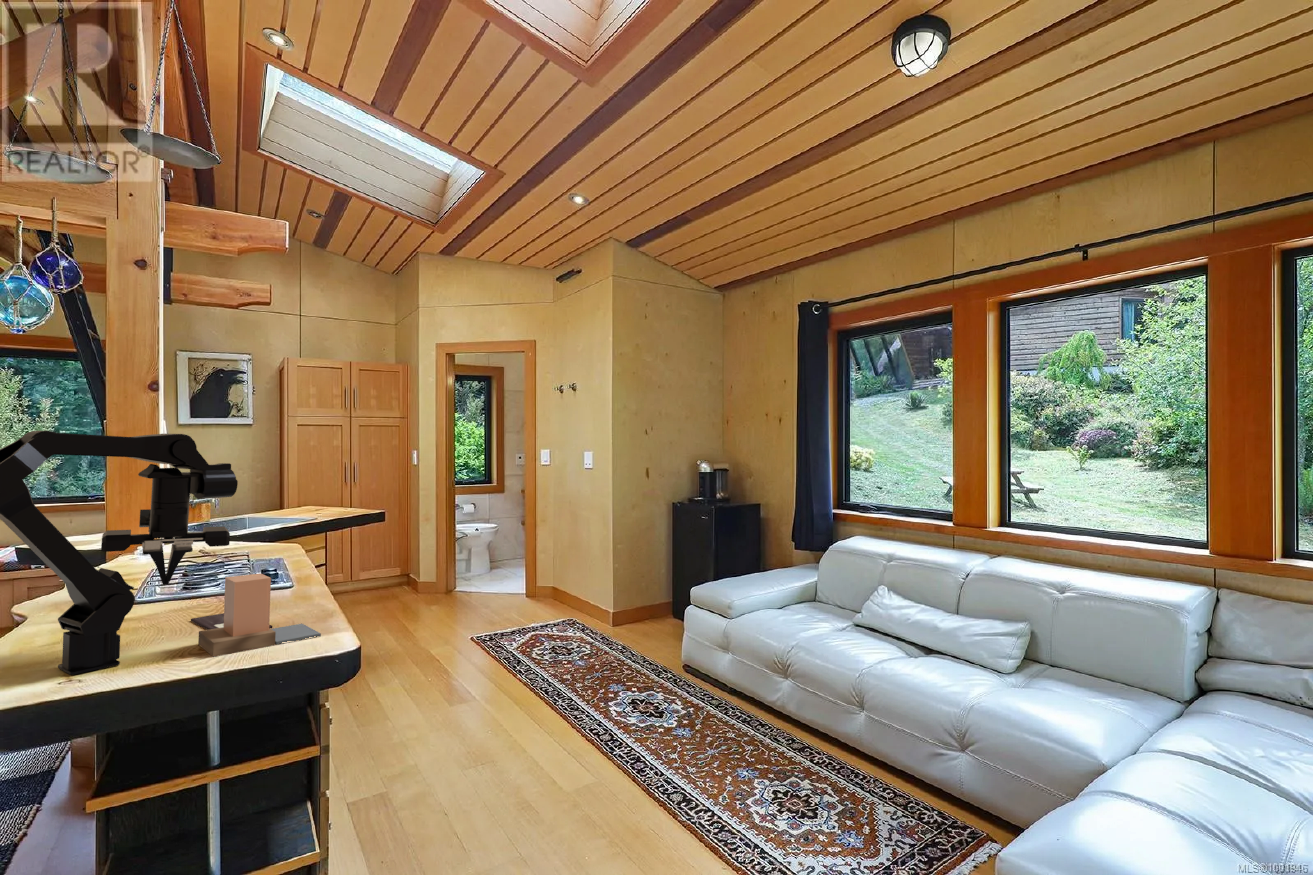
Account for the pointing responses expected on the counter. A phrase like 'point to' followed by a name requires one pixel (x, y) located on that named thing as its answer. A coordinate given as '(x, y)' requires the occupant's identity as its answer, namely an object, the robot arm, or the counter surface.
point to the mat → (294, 633)
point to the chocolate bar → (211, 621)
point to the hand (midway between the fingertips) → (165, 584)
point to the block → (247, 604)
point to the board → (233, 641)
